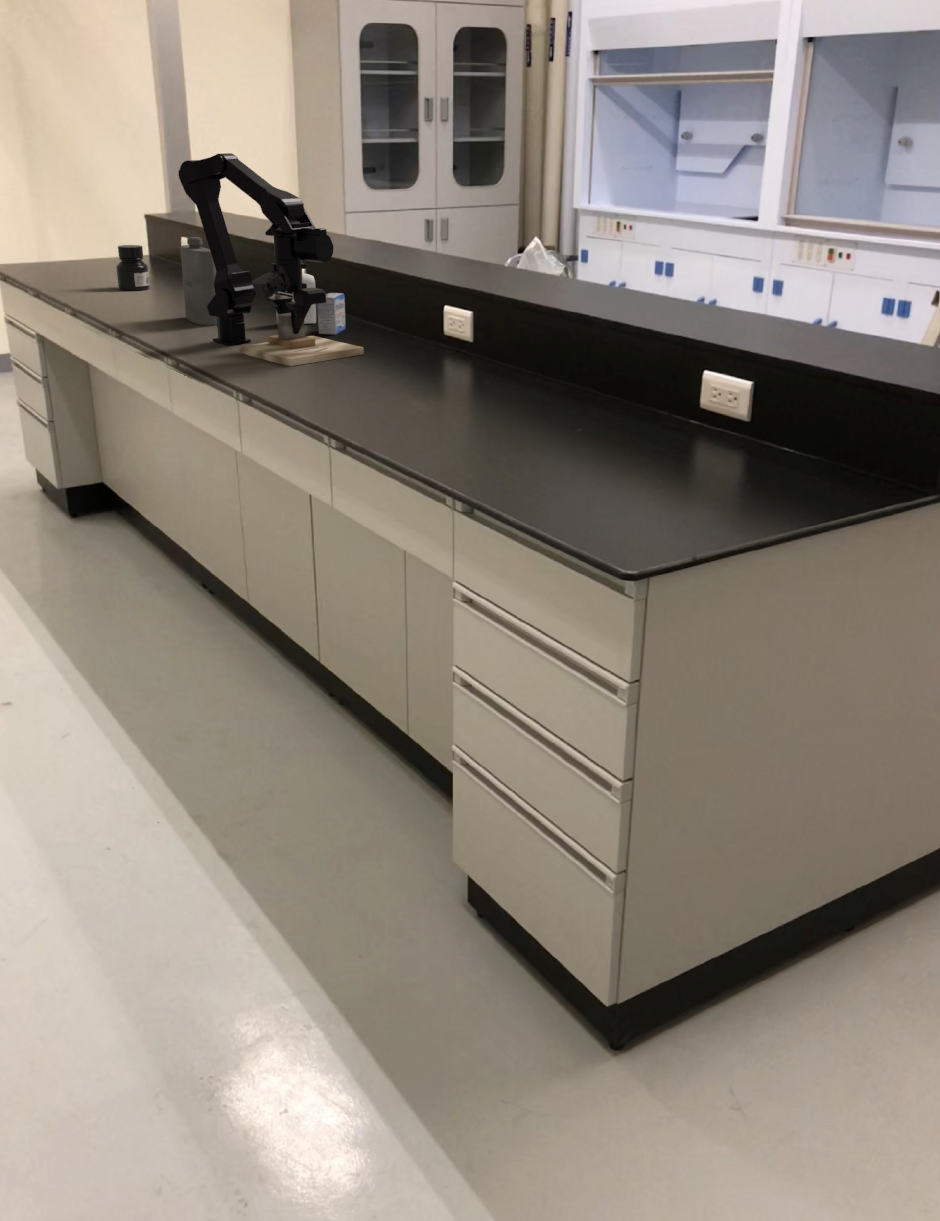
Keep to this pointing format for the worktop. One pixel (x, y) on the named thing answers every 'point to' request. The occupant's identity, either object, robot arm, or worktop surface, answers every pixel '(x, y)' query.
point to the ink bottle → (132, 268)
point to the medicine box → (332, 314)
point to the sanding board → (302, 352)
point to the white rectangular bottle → (311, 313)
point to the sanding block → (290, 334)
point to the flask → (198, 281)
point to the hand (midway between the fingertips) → (291, 332)
